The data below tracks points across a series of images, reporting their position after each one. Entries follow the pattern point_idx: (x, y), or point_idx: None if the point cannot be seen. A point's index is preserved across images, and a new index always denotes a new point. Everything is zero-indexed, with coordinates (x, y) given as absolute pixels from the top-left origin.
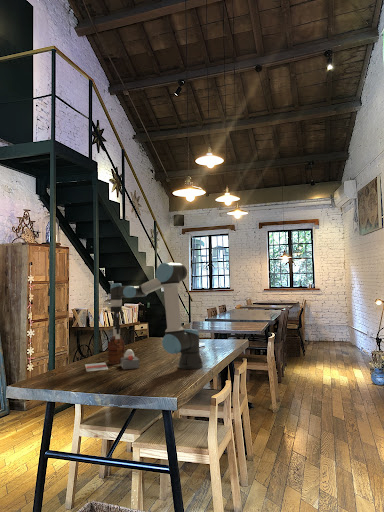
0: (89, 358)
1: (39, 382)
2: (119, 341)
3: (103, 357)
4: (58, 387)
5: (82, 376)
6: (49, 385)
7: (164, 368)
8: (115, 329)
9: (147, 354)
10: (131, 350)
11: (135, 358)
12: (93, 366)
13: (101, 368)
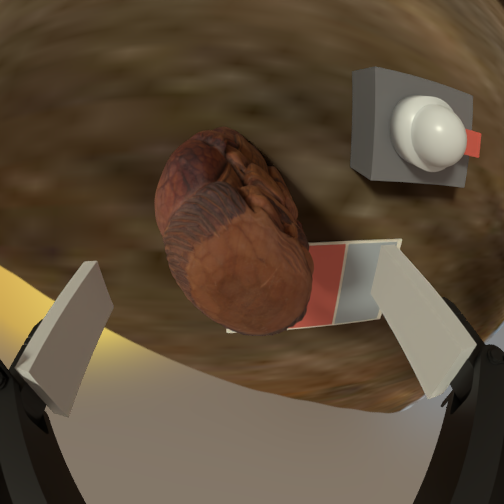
0: None
1: (409, 387)
2: (280, 217)
3: (57, 250)
4: None
5: None
6: None
7: (479, 16)
8: (437, 391)
9: (48, 4)
10: (463, 126)
11: (438, 97)
12: None
13: (372, 268)
